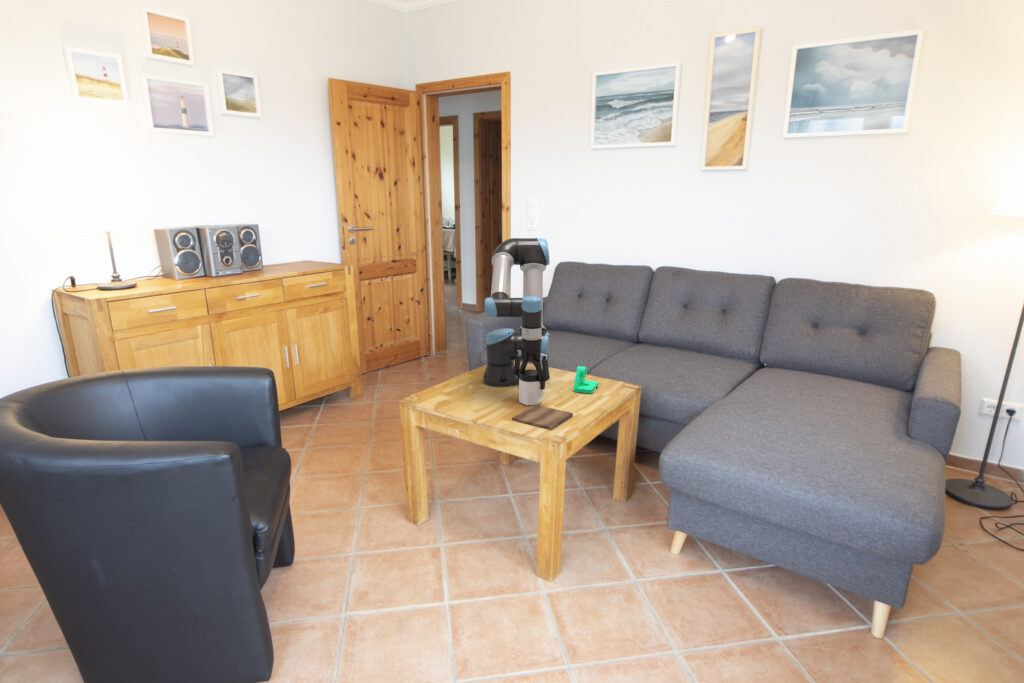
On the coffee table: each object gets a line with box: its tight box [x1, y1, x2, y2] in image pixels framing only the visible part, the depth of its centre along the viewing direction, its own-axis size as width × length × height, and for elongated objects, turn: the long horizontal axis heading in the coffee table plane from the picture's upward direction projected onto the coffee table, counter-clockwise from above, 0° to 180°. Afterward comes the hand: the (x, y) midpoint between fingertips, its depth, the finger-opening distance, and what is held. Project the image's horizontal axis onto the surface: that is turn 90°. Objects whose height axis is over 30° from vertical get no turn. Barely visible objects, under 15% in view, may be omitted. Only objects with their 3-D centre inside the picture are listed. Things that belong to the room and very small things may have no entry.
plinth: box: [511, 404, 574, 431], centre depth 200 cm, size 16×16×2 cm
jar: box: [518, 369, 542, 406], centre depth 215 cm, size 9×8×12 cm
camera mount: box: [572, 365, 599, 394], centre depth 234 cm, size 12×8×10 cm, turn 157°
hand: (531, 395), depth 216 cm, fingers closed on jar, 7 cm apart
